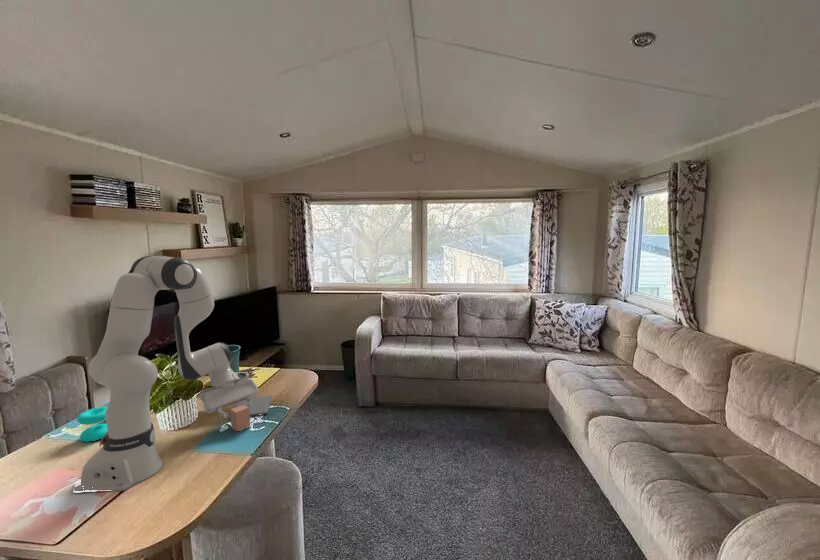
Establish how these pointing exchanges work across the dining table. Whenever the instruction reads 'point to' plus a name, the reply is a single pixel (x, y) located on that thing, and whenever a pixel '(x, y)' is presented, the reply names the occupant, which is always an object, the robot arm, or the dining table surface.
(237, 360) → the flower pot
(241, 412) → the terracotta block
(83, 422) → the donuts
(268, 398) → the slate board
